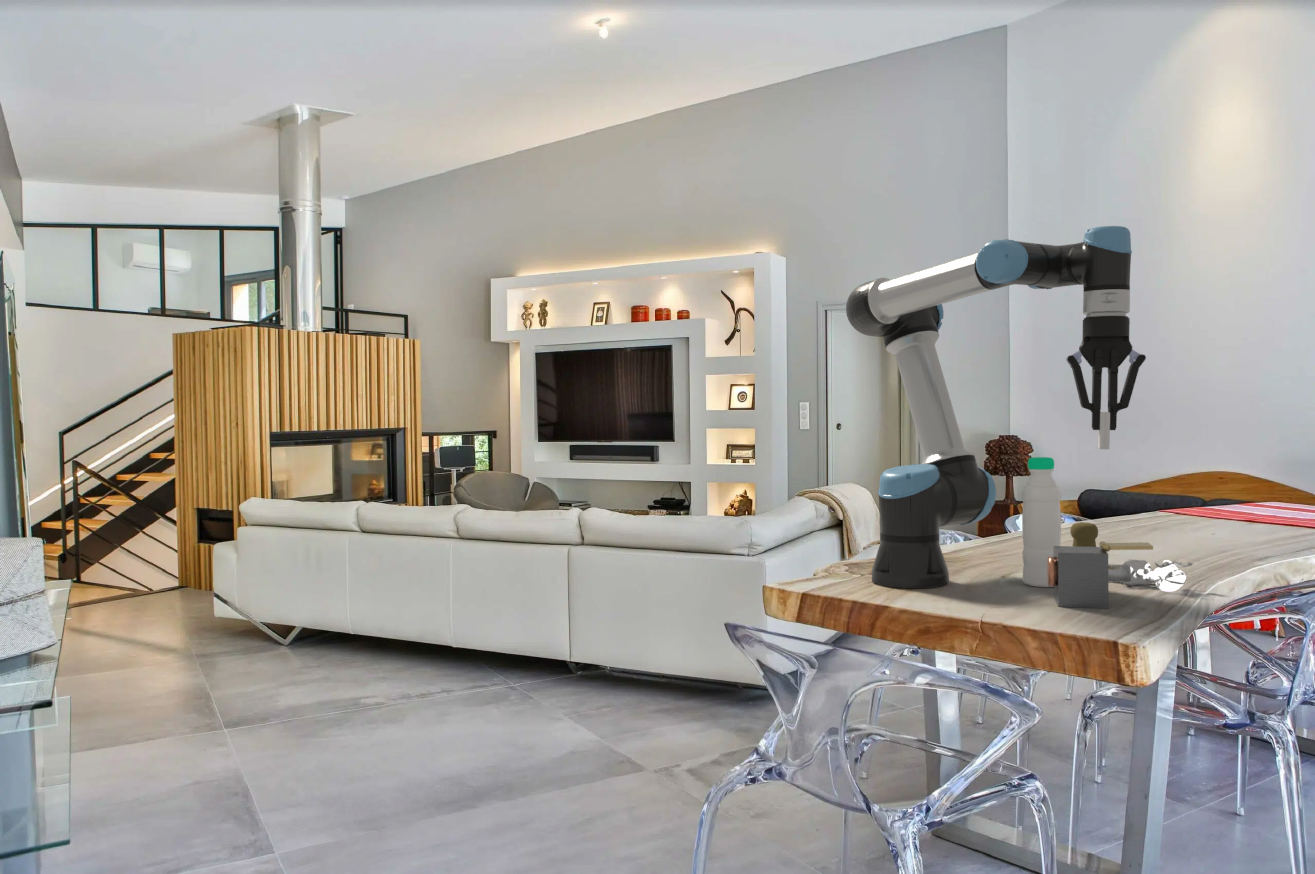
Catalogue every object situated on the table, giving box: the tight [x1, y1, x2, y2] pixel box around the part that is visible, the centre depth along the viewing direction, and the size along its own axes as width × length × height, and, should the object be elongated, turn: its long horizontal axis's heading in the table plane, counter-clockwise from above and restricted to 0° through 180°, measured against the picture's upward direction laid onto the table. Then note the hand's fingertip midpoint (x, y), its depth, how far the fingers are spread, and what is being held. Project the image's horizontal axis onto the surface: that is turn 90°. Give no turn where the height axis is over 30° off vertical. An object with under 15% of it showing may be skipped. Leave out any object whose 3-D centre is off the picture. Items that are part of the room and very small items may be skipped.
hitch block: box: [1053, 545, 1110, 609], centre depth 170 cm, size 8×8×10 cm
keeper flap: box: [1098, 540, 1154, 553], centre depth 167 cm, size 8×4×1 cm, turn 73°
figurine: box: [1121, 558, 1194, 593], centre depth 181 cm, size 9×6×12 cm
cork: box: [1070, 521, 1099, 547], centre depth 195 cm, size 6×6×11 cm
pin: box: [1047, 557, 1131, 586], centre depth 169 cm, size 13×5×5 cm, turn 73°
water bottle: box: [1021, 456, 1062, 588], centre depth 187 cm, size 7×7×25 cm
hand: (1103, 448), depth 170 cm, fingers closed
